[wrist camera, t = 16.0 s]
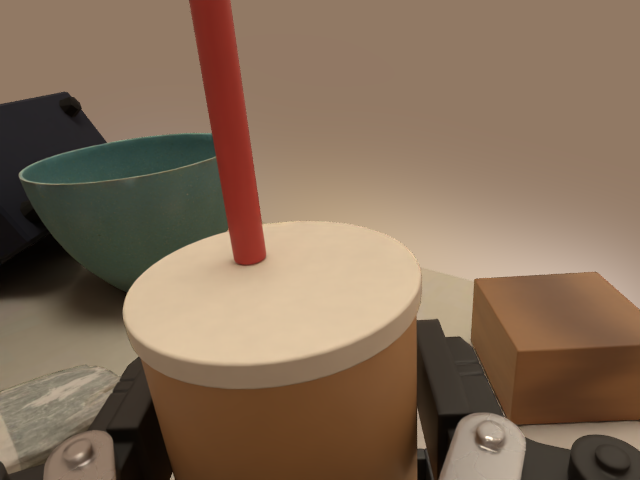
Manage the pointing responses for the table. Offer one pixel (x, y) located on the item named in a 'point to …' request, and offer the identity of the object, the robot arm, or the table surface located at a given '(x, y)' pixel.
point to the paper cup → (276, 325)
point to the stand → (558, 347)
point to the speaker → (34, 159)
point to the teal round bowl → (129, 201)
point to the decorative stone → (50, 413)
